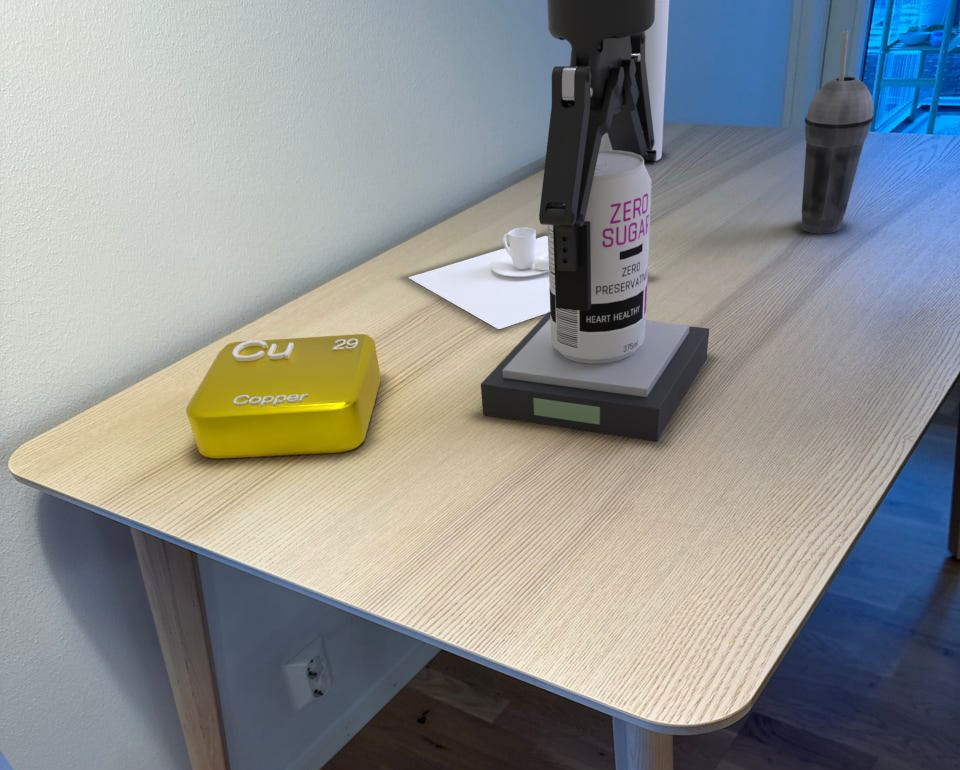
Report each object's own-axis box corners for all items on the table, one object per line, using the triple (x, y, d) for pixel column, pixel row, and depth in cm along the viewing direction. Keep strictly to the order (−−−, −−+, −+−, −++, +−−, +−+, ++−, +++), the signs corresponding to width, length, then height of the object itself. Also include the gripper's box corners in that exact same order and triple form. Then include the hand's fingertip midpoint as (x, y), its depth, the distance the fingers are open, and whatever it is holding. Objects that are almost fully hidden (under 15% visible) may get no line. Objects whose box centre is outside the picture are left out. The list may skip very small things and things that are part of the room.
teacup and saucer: (576, 269, 105) (575, 233, 102) (519, 288, 102) (517, 251, 99) (533, 250, 110) (531, 215, 108) (478, 267, 108) (475, 232, 105)
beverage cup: (866, 225, 108) (905, 25, 94) (825, 242, 105) (859, 38, 92) (816, 212, 112) (847, 20, 99) (776, 228, 110) (802, 32, 96)
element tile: (193, 461, 79) (176, 411, 76) (235, 382, 90) (222, 335, 87) (362, 453, 77) (353, 402, 74) (384, 373, 89) (376, 326, 85)
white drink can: (570, 323, 85) (568, 146, 75) (656, 332, 82) (665, 149, 72) (537, 360, 79) (529, 175, 69) (627, 372, 76) (632, 180, 66)
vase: (670, 154, 136) (679, -8, 123) (644, 167, 133) (650, 1, 119) (607, 146, 142) (609, -8, 129) (581, 158, 138) (580, 0, 125)
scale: (706, 358, 85) (710, 319, 83) (656, 442, 75) (659, 400, 72) (549, 340, 91) (548, 303, 89) (482, 415, 81) (478, 375, 78)
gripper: (608, -56, 72) (607, 224, 86) (475, -1, 55) (501, 333, 70) (702, -63, 69) (685, 228, 83) (590, -7, 53) (594, 342, 67)
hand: (601, 276), depth 76 cm, fingers open, 13 cm apart
